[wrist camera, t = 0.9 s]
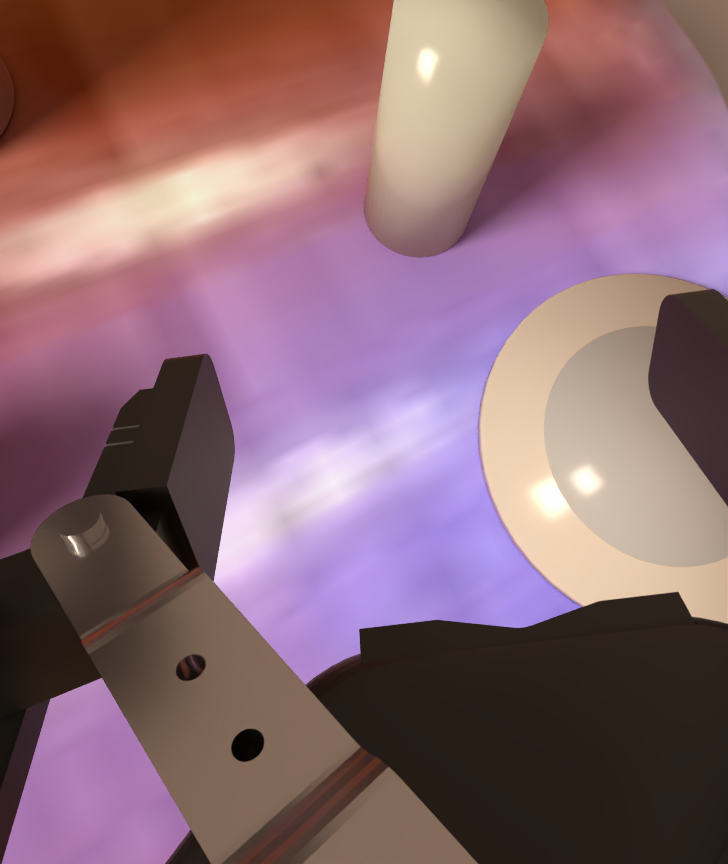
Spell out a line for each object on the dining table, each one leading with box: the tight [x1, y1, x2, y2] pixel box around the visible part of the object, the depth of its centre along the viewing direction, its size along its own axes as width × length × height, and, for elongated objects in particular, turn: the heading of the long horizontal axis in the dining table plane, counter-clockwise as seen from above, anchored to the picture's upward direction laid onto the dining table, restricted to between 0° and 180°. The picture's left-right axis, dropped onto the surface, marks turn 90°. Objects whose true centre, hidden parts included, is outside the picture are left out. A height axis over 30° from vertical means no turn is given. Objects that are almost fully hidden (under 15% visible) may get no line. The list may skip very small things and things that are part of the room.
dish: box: [478, 274, 728, 624], centre depth 32 cm, size 18×18×1 cm
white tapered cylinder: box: [364, 0, 549, 257], centre depth 29 cm, size 6×6×12 cm
